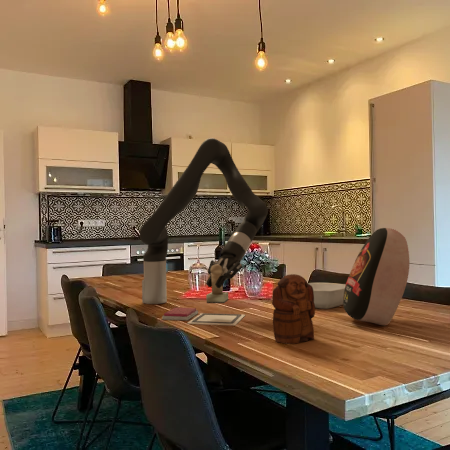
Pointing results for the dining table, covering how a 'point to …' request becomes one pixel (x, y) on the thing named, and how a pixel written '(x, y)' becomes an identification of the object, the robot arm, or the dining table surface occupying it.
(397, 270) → the packaged food
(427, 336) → the dining table surface
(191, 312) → the ink pad
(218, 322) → the print sheet
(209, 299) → the stamp
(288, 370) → the dining table surface
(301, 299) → the wooden figurine
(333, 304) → the square bowl
